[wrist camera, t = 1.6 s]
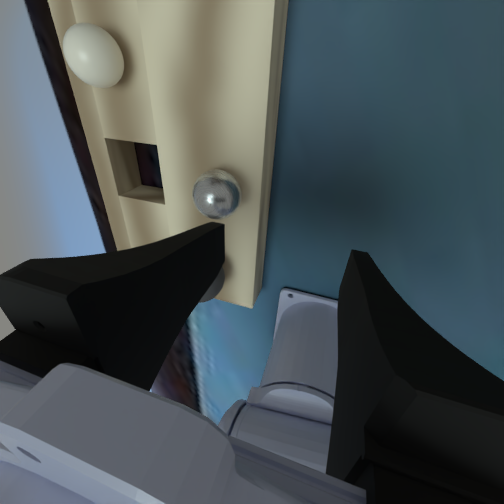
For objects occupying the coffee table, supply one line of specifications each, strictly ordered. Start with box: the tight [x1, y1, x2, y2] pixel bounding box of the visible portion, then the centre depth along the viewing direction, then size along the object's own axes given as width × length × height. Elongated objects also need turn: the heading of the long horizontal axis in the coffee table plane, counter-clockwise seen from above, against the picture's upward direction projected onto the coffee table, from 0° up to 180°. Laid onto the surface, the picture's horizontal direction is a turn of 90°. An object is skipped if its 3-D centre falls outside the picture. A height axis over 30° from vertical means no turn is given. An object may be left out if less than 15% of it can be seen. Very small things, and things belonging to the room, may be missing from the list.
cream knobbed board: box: [48, 0, 289, 308], centre depth 20 cm, size 14×22×3 cm, turn 177°
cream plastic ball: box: [63, 22, 124, 88], centre depth 15 cm, size 3×3×3 cm
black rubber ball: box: [199, 266, 225, 302], centre depth 21 cm, size 4×4×4 cm
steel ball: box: [192, 169, 242, 220], centre depth 17 cm, size 3×3×3 cm
